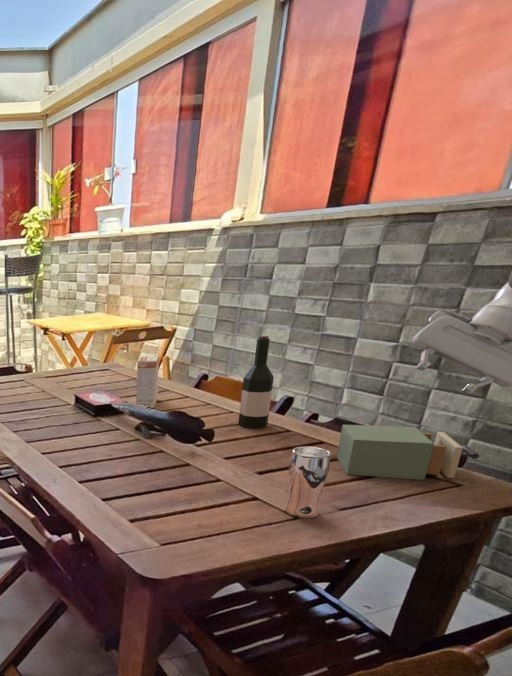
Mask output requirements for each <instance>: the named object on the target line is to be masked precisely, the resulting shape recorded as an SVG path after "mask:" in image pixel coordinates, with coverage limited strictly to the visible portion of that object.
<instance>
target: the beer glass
mask: <svg viewBox="0 0 512 676" xmlns="http://www.w3.org/2000/svg"><path fill="white" fill-rule="evenodd" d="M331 455H332V453H331V452H330V450H328V449H325V448H321V447H318V446H309V445H307V446H304V445H303V446H297V447H294V448H292V453H291V455H290V460H289V465H288V471H287V473H288V475H287V478H288V479H287V480H288V499H287V502H286V504H285V506H284V511H285V513H287V514H288V515H290V516H293V517H295V518H301V519H313V518H316V517H318V515H319V506H318V503H319V498H320V496H321V494H322V492H323V490H324V488H325V485H326V483H327V480H328V476H329V473H330V465H331Z"/></svg>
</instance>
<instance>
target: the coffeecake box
mask: <svg viewBox="0 0 512 676" xmlns="http://www.w3.org/2000/svg"><path fill="white" fill-rule="evenodd" d="M136 362H137V365H136V366H137V367H136V369H137V370H136V394H135V396H136V397H135V405H136V404H137V405H144V406H149V407H154V408H155V407H156V403H157V402H158V389H159V367H160V353H141V355H140V356H139V358H138V359H137V361H136Z"/></svg>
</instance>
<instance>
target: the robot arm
mask: <svg viewBox="0 0 512 676" xmlns="http://www.w3.org/2000/svg"><path fill="white" fill-rule="evenodd" d="M411 344H412V345H413V346H416V347H418V348H420V349H421V350H423V351H422V352H421V353H420V362H419V363H418V364H417V365H416V366H415V369H417V370H418V371H421V372H423V371H426V370H427V369H428V367H430V366H431V365H432V363H431V362H429V358H430V356H431V355H434V356H436V357H439V358H441V359H443V360H445V361H447V362H450V363H451V364H452V365H453V364H454V365H455V366H458V367H459V368H461V369H464V370H466V371H468V372H470V373H473V374H474V375H477V376H479V377H481V379H479V382H480V383H477V384H474V383H473V382H470V383H468V384H466V385H465V386H464V387H463V388H462V389H461V392H464V393H466V394H467V395H470V394H472V393H474V392H475V391H476V390H477V389H478V388H480V387H483V386H486V385H489V384H492V383H493V384H496V385H497V386H500V387H502V388H510V387H512V271H510V274H509V276H508V280H507V282H506V283H505V284H504V285H503V286H502V287H500V289H499V290H498V291H497V292H496V294H495V295H494V298H493V299H492V300H491V301H490V302H489V303H487V304H485V305H484V306H483V307H481V308H480V310H478V311H477V312H476V314H474V315H473V317H472V318H470V317H468V316H465V315H463V314H460V313H457V312H456V311H454V310H451V309H448V310H446V309H442V310H438V311H435V312H434V313H433V314H432V315H431V316H430V317H429V319H428V324H427V325H425V326H424V327H423V328H421V330H419V331H418V332H417V333H416V334H415V335H414V336H413V337H412V338H411Z"/></svg>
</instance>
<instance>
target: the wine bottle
mask: <svg viewBox="0 0 512 676" xmlns="http://www.w3.org/2000/svg"><path fill="white" fill-rule="evenodd" d="M270 340H271V339H270V338H269V335H259V336H258V338H257V339H256V345H255V353H254V354H255V355H254V362H253V365H252V367H251V368H250V369H249V370H248V371H247V373H246V374H245V375H244V377H243V381H242V387H241V388H242V389H241V397H240V405H239V412H238V413H239V414H238V423H237V425H238V426H239V425H240V427H242V428H244V427H245V428H244V429H250V430H251V429H252V430H257V429H265V428H266V427H267V426H268V422H269V415H270V407H271V400H272V393H273V386H274V380H275V379H274V378H275V376H274V375H273V373H272V371H271V370H270V368H269V366H268V365H267V363H268V355H269V348H270Z"/></svg>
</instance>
